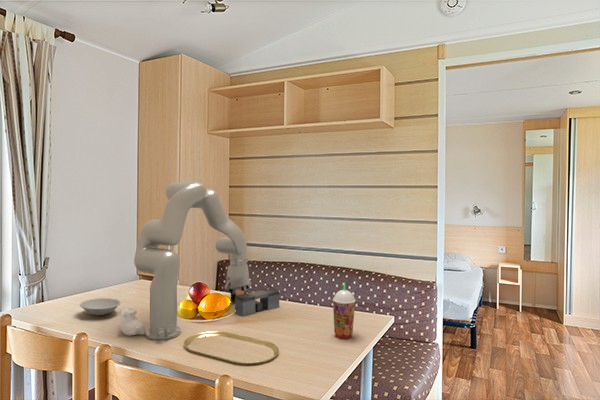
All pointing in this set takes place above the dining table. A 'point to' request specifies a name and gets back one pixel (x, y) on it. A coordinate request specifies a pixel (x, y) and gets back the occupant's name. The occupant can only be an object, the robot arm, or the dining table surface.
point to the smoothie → (343, 313)
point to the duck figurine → (131, 323)
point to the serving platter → (234, 336)
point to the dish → (100, 305)
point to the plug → (257, 304)
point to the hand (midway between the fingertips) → (238, 300)
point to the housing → (247, 301)
